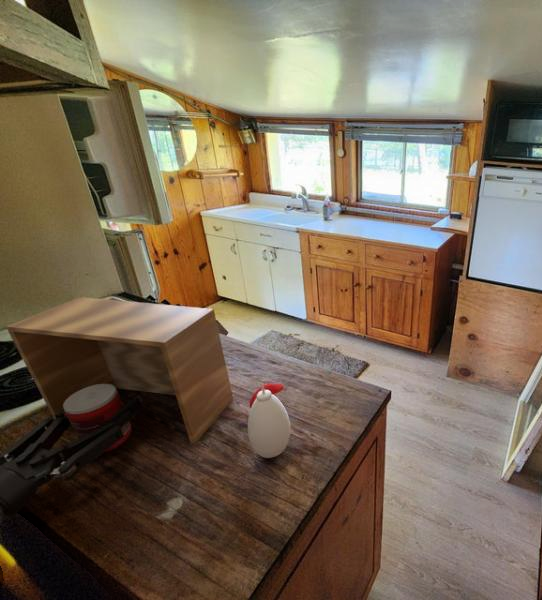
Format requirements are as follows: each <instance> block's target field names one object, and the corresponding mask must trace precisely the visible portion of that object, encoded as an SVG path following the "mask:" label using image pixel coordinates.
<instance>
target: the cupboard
mask: <svg viewBox="0 0 542 600" xmlns="http://www.w3.org/2000/svg"><path fill="white" fill-rule="evenodd" d="M5 328H6V330H7V332H8V334H9V335H10V338H11V340H12V342H13V343H14V345H15V347H16V349H17V351H18V353H19V355H20V357H21V359H22V360H23V362H24V364H25V365H26V368H27V370H28V372H29V374H30V376H31V378H32V380H33V382H34V383H35V385H36V387H37V389H38V391H39V393H40V395H41V397H42V399H43V401H44V402H45V404H46V406H47V408H48V411H49V413H50V414H51V417H52V418H53V419H56V417H55V415H56V414H58V413H63V414H64V415H66V413H65V411H64V407H63V404H64V402H65V401H66V400H67V399H68V398H69V397H70V396H71V395H73V394H74V393H76V392H78V391H80V390H82V389H84V388H87V387H89V386H93V385H97V384H112V385H114V386H115V387H116V389H121V390H130V391H138V392H147V393H154V394H164V395H173V396H175V397H176V400H177V403H178V407H179V409H180V410H179V411H180V413H181V416H182V419H183V423H184V426H185V429H186V432H187V436H188V439H189V442H190V444H193V445H195V444H196V443H197V442H198V441H199V440H200V439H201V438H202V436H203V435H204V434H205V433H206V431H208V430H209V428H210V427H211V426H212V424H213V423H214V422H215V421H216V420H217V419H218V417H219V416H220V415H221V414H222V413H223V411H224V410H225V409H226V408H227V407H228V406H229V405H230V403H231V402H232V401H233V400H234V396H233V391H232V386H231V383H230V378H229V373H228V368H227V364H226V363H227V362H226V359H225V356H224V350H223V344H222V341H221V336H220V331H219V326H218V321H217V317H216V313H215V309H214V308H204V307H193V306H185V305H184V306H183V305H171V304H162V303H152V302H151V303H150V302H139V301H128V300H116V299H106V298H96V297H86V296H85V297H84V296H79V297H77V298H75V299H72V300H69V301H67V302H64V303H62V304H60V305H56V306H53V307H51V308H49V309H47V310H44V311H42V312H39V313H35V314H34V315H31V316H29V317H26V318H24V319H22V320H19V321H16V322H14V323H11V324H8V325H6V326H5Z"/></svg>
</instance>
